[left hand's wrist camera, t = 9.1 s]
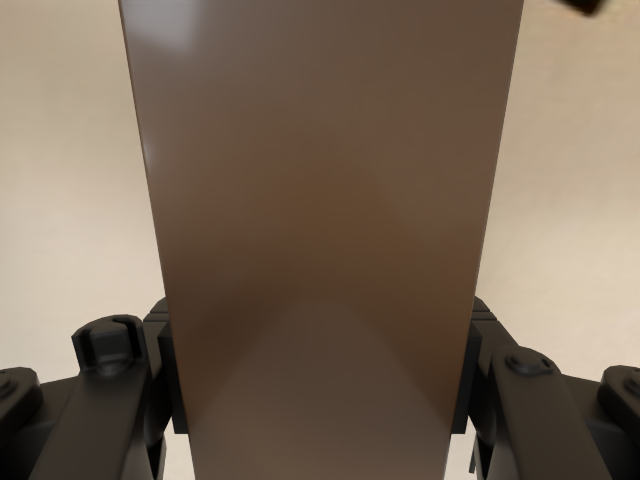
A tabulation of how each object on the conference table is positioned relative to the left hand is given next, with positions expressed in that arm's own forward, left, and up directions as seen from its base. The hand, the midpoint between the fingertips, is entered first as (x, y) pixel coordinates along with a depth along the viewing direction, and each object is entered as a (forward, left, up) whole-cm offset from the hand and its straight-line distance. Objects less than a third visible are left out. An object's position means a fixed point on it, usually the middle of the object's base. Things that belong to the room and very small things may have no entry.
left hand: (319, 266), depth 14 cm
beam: (+11, +20, -1) cm, 23 cm away
